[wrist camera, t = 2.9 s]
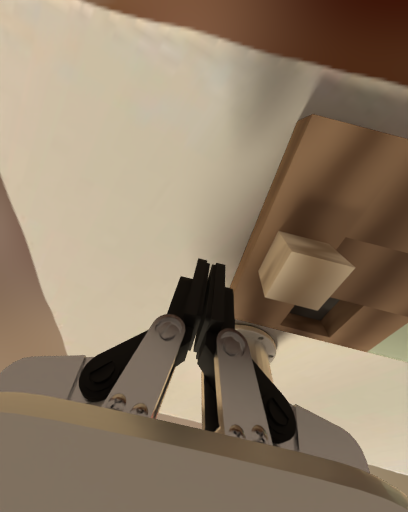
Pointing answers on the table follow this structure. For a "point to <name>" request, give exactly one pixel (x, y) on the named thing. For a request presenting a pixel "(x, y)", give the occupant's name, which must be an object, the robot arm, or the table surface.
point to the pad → (394, 345)
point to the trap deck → (336, 232)
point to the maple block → (302, 271)
